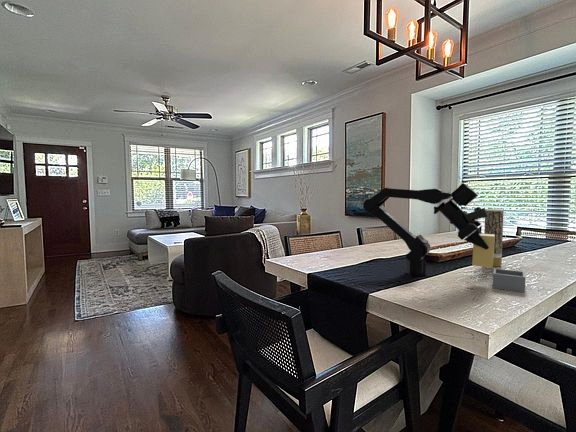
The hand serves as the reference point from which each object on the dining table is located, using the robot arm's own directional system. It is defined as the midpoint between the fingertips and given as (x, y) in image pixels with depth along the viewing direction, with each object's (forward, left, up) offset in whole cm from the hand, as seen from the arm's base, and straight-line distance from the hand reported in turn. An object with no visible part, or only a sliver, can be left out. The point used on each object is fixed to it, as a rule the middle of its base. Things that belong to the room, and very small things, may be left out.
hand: (488, 247), depth 110 cm
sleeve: (+5, -4, -13) cm, 15 cm away
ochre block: (-1, +1, -7) cm, 7 cm away
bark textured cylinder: (+22, +26, -13) cm, 37 cm away
